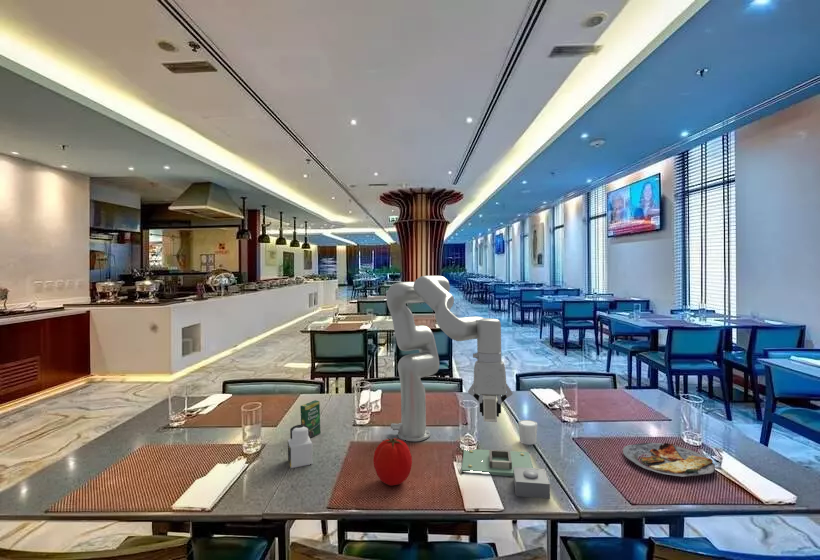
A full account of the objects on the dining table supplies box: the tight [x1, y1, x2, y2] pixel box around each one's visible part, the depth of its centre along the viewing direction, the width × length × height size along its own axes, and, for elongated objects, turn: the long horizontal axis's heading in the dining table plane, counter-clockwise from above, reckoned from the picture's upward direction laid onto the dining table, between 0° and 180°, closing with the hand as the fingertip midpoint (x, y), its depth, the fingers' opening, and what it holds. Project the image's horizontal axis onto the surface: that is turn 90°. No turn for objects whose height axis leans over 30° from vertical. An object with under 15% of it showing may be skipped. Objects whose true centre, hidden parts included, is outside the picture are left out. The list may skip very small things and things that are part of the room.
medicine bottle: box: [287, 424, 313, 469], centre depth 135 cm, size 7×7×12 cm
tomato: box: [372, 437, 413, 487], centre depth 120 cm, size 12×12×13 cm
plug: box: [483, 395, 498, 423], centre depth 128 cm, size 4×6×8 cm, turn 168°
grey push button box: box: [513, 467, 551, 499], centre depth 115 cm, size 9×9×5 cm
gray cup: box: [517, 419, 538, 446], centre depth 149 cm, size 7×7×7 cm
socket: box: [488, 449, 512, 469], centre depth 130 cm, size 7×9×2 cm
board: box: [461, 448, 534, 477], centre depth 132 cm, size 22×16×1 cm
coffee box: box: [299, 399, 321, 439], centre depth 158 cm, size 8×3×13 cm, turn 147°
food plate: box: [622, 441, 716, 478], centre depth 130 cm, size 25×23×4 cm
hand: (490, 414), depth 128 cm, fingers closed on plug, 4 cm apart
